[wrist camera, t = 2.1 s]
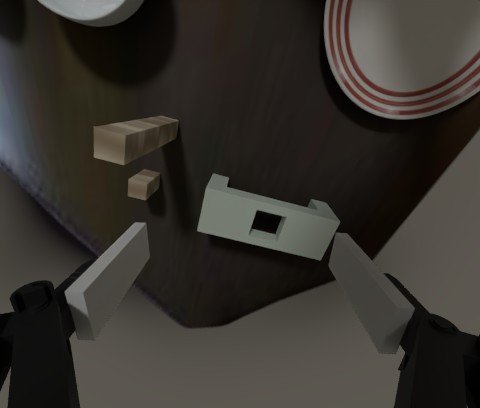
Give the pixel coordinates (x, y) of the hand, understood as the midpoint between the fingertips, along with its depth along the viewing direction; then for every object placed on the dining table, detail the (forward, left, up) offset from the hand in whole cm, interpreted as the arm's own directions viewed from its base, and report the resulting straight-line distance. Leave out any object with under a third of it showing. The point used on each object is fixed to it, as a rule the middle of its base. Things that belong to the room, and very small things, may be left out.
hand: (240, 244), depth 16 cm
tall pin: (-2, -14, -27) cm, 30 cm away
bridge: (+8, +6, -27) cm, 29 cm away
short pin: (+8, -16, -27) cm, 32 cm away
